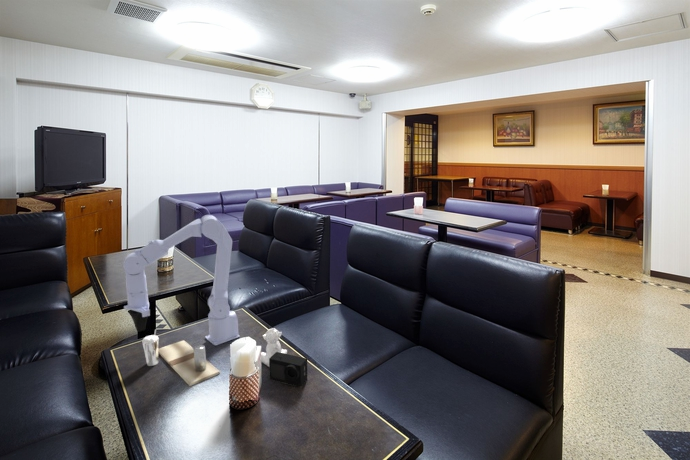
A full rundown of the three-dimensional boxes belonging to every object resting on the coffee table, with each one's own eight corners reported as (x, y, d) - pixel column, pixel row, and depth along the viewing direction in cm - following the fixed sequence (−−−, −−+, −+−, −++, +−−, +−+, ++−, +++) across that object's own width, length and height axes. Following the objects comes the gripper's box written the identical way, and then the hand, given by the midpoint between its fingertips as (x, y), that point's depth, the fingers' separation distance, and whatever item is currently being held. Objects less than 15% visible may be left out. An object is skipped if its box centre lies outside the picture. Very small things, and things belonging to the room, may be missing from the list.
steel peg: (203, 364, 117) (202, 344, 115) (208, 369, 114) (206, 347, 113) (193, 368, 114) (191, 347, 113) (197, 373, 112) (196, 351, 111)
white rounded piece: (165, 358, 121) (162, 329, 119) (155, 367, 116) (152, 337, 114) (151, 357, 122) (148, 328, 119) (141, 366, 116) (138, 337, 114)
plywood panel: (184, 342, 131) (183, 339, 131) (219, 373, 113) (219, 370, 113) (156, 351, 125) (156, 348, 125) (189, 386, 107) (189, 383, 107)
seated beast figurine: (286, 353, 126) (286, 319, 123) (291, 367, 118) (290, 331, 115) (257, 357, 123) (256, 323, 120) (260, 372, 115) (259, 336, 112)
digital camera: (267, 382, 110) (266, 360, 109) (276, 372, 115) (276, 351, 114) (298, 390, 106) (298, 367, 105) (307, 379, 111) (307, 358, 110)
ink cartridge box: (258, 400, 102) (256, 351, 99) (239, 401, 101) (237, 351, 98) (262, 381, 110) (261, 335, 107) (245, 382, 110) (243, 335, 106)
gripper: (116, 287, 122) (120, 326, 125) (130, 300, 112) (134, 342, 115) (139, 282, 127) (143, 320, 130) (155, 294, 117) (159, 335, 120)
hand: (140, 330), depth 122 cm, fingers closed
